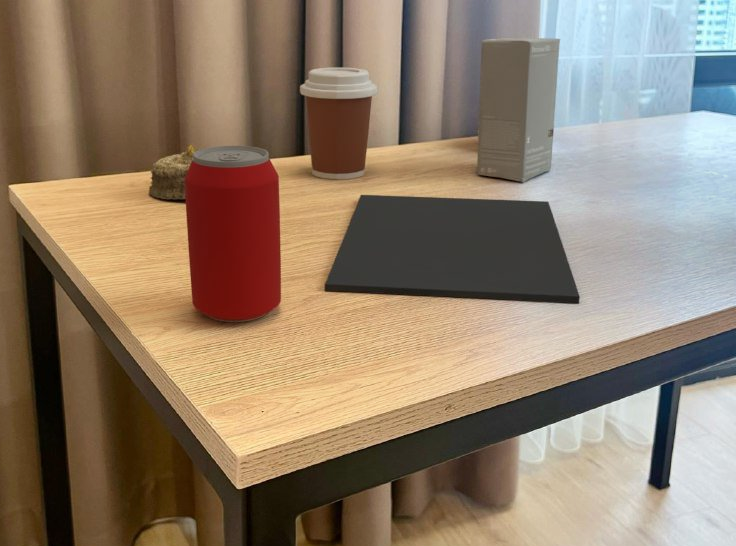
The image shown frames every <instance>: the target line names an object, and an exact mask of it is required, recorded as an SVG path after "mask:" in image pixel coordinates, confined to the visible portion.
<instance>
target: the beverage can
mask: <svg viewBox="0 0 736 546" xmlns="http://www.w3.org/2000/svg"><path fill="white" fill-rule="evenodd" d="M279 177H280V176H279V174H278V171H277V170H276V168H275V166H274V165H273V162H272V161H271V159H270V157H269V151H268V150H266V149H264V148H262V147H256V146H250V145H217V146H209V147H205V148H201V149H198V150H196V151H195V152H194V153H193V160H192V162H191V164H190V166H189V169H188V171H187V173H186V175H185V197H186V199H185V213H186V233H187V245H188V246H187V248H188V258H189V259H188V261H189V276H190V289H191V290H190V291H191V302H192V306H193V307H194V308H195V309H196V311H198V312H200V313H202V314H204V315H206V316H207V317H208V318H210V319H212V320H215V321H219V322H224V323H245V322H252V321H255V320H259V319H261V318H263V317H265V316H266V315H268V314H269V313H270V312H271V311H273V310H274V309H276V308H277V307H278V306H279V305H280V304H281V302H282V255H281V252H282V251H281V250H282V249H281V209H280V208H281V206H280V182H279V181H280V178H279Z"/></svg>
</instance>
